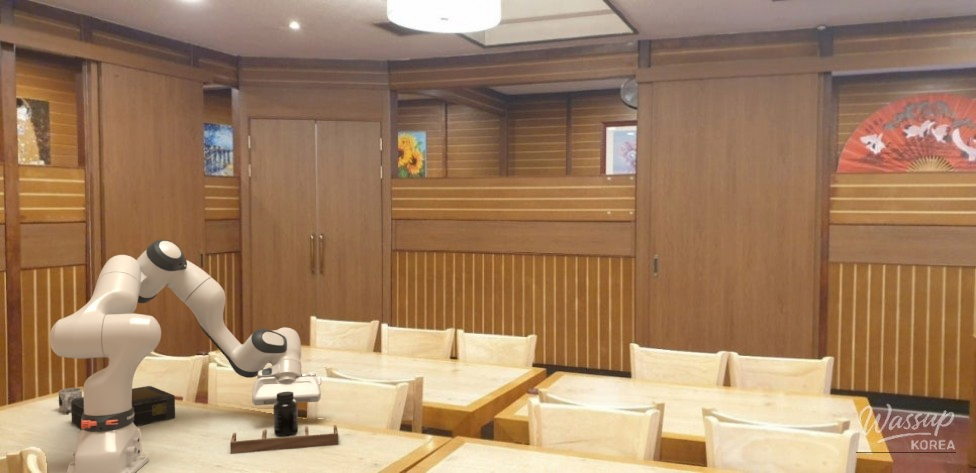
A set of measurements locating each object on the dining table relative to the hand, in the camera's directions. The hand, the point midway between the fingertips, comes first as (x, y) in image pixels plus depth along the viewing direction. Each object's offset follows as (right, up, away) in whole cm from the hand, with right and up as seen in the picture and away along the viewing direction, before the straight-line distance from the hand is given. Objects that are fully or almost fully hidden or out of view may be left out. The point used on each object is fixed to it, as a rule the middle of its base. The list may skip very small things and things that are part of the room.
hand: (286, 414), depth 220 cm
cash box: (-54, -5, +11) cm, 56 cm away
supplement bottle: (+1, -5, -4) cm, 6 cm away
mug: (-77, -4, +21) cm, 80 cm away
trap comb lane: (+2, -5, -9) cm, 10 cm away
